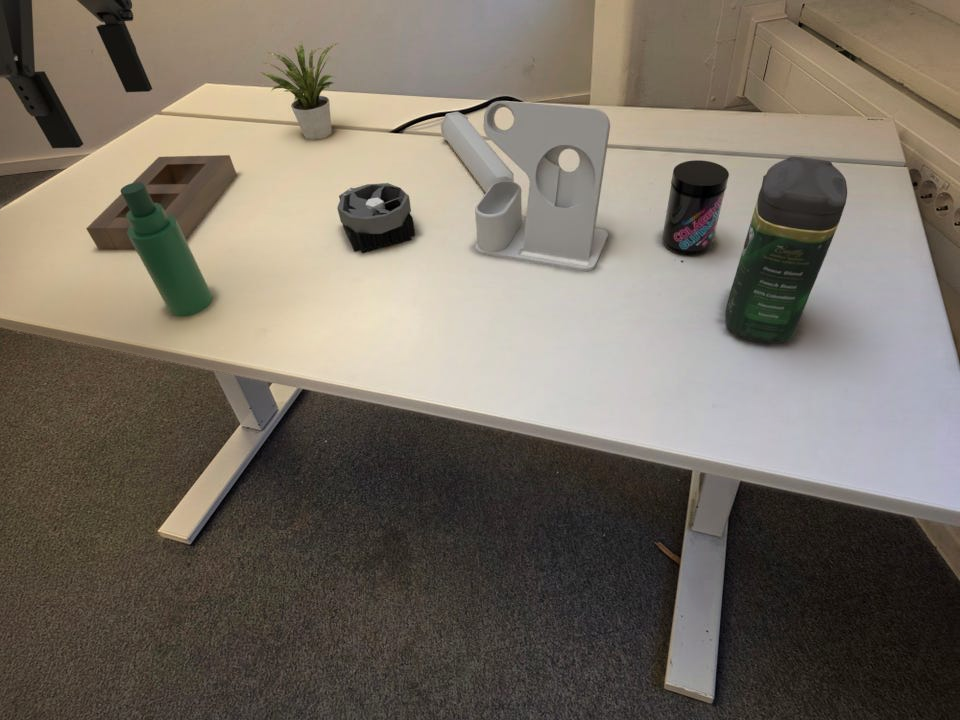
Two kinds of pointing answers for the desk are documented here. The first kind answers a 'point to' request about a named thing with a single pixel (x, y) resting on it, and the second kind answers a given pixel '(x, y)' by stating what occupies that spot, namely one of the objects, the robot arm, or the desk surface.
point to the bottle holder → (169, 196)
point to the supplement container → (694, 206)
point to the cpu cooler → (375, 216)
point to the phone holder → (546, 186)
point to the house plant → (307, 94)
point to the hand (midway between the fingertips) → (106, 116)
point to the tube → (474, 151)
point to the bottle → (165, 253)
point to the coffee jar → (785, 248)
